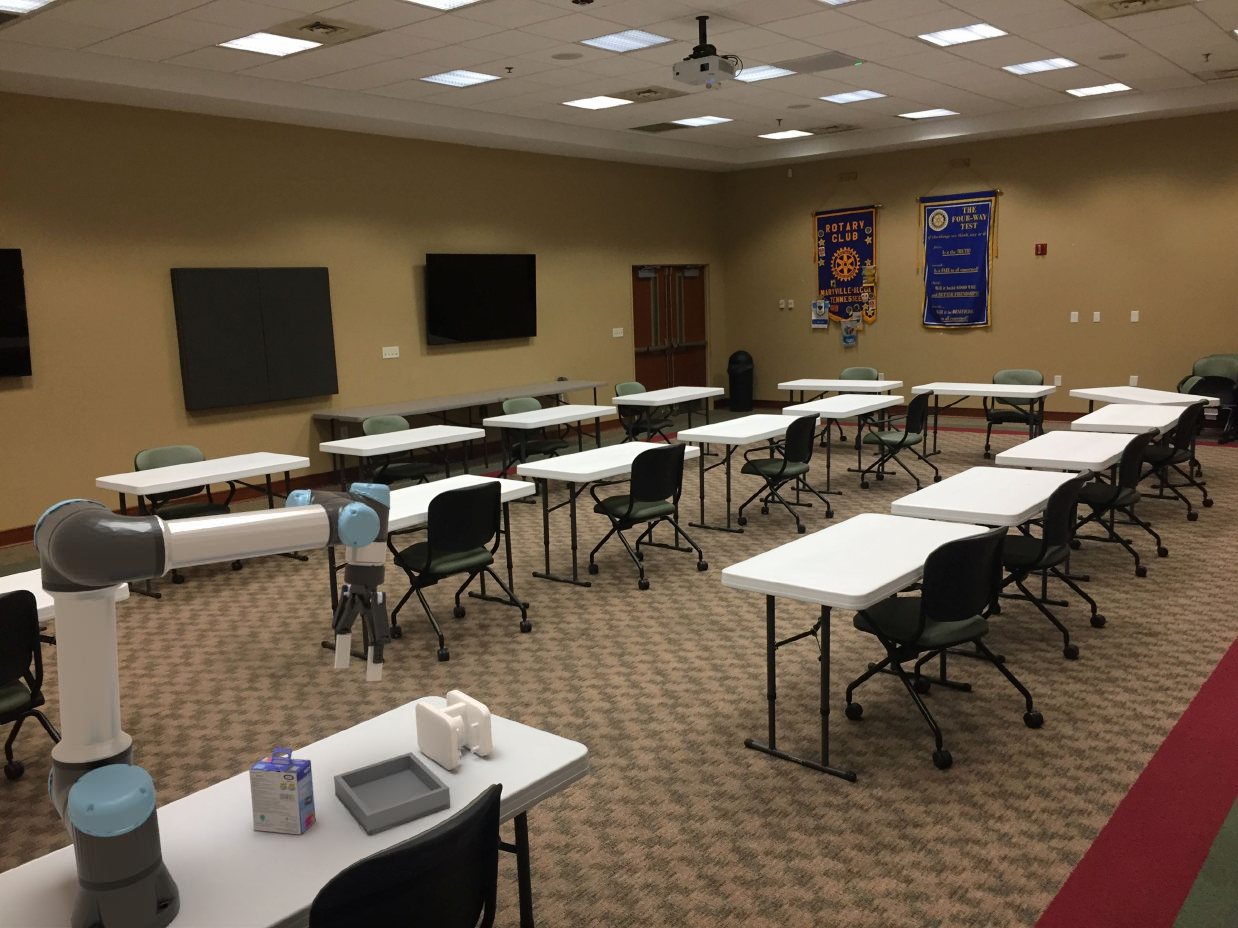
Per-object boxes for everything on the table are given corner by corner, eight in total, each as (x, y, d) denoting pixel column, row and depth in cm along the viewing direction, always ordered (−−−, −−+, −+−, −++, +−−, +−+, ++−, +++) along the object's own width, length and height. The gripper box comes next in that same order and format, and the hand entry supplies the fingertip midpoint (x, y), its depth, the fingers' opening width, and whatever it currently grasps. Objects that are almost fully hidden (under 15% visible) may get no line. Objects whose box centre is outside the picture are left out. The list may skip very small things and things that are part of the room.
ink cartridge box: (317, 819, 176) (311, 747, 174) (302, 835, 171) (295, 761, 168) (269, 814, 178) (262, 743, 176) (253, 831, 173) (245, 757, 170)
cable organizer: (415, 750, 202) (411, 699, 200) (457, 734, 209) (454, 685, 207) (452, 775, 191) (449, 722, 189) (495, 758, 198) (493, 706, 196)
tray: (368, 836, 170) (367, 815, 169) (335, 794, 185) (333, 775, 184) (450, 807, 179) (449, 787, 178) (412, 770, 194) (411, 751, 193)
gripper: (415, 569, 175) (406, 684, 174) (354, 557, 194) (346, 661, 193) (377, 569, 170) (369, 687, 169) (319, 557, 189) (311, 664, 188)
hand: (357, 674), depth 181 cm, fingers open, 13 cm apart
